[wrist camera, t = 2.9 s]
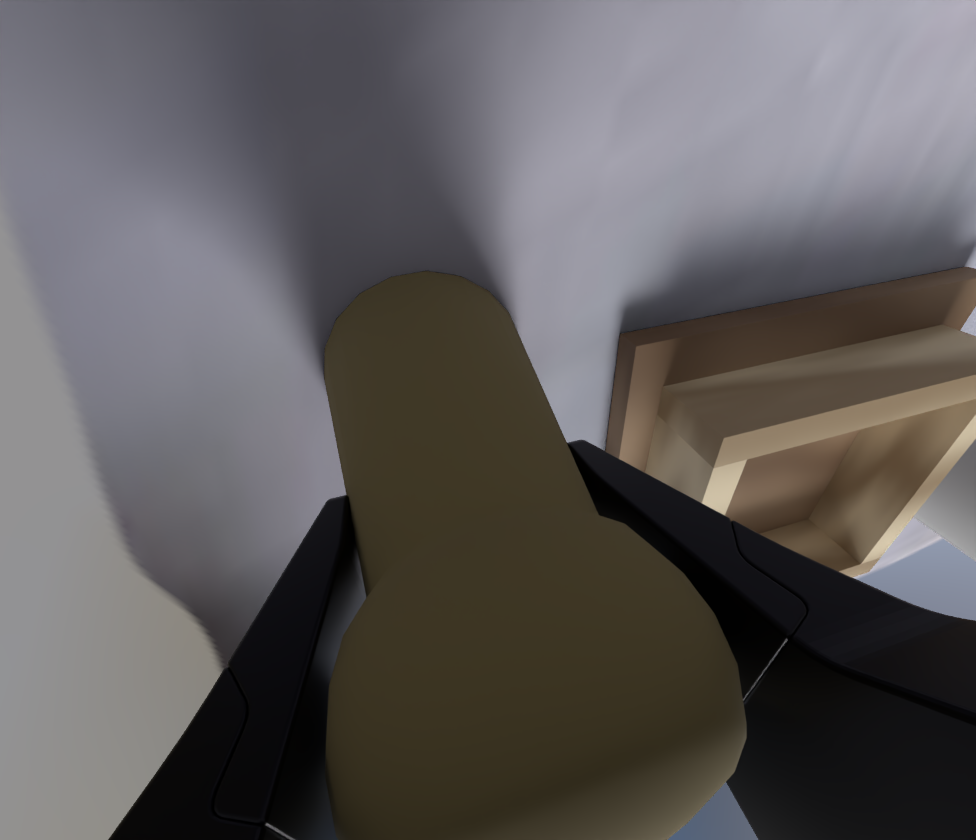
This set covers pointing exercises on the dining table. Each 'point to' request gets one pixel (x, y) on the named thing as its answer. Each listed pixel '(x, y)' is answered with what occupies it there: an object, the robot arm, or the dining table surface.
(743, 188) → the dining table surface
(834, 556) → the socket block
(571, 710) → the cork
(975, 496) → the cylinder vase
